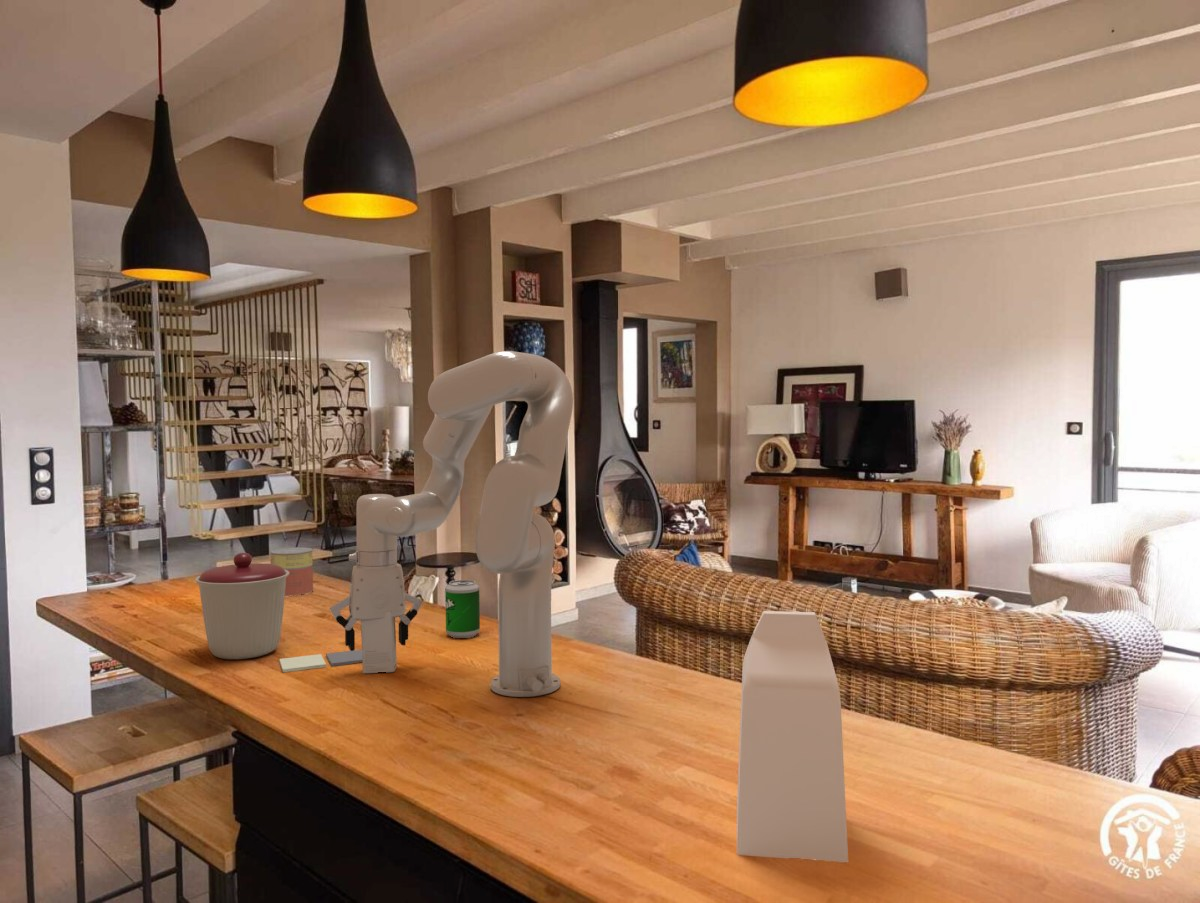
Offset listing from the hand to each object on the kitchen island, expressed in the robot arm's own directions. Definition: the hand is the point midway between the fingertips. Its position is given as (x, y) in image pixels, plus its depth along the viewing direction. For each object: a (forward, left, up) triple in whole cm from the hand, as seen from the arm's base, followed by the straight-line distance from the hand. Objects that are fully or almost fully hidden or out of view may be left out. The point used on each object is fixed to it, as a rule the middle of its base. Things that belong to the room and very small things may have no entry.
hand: (377, 646), depth 166 cm
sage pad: (+11, +13, -5) cm, 17 cm away
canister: (+25, +23, -5) cm, 34 cm away
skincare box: (0, 0, -5) cm, 5 cm away
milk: (-87, -31, -5) cm, 93 cm away
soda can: (+19, -22, -5) cm, 30 cm away
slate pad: (+11, +4, -5) cm, 12 cm away
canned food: (+87, +8, -5) cm, 87 cm away
